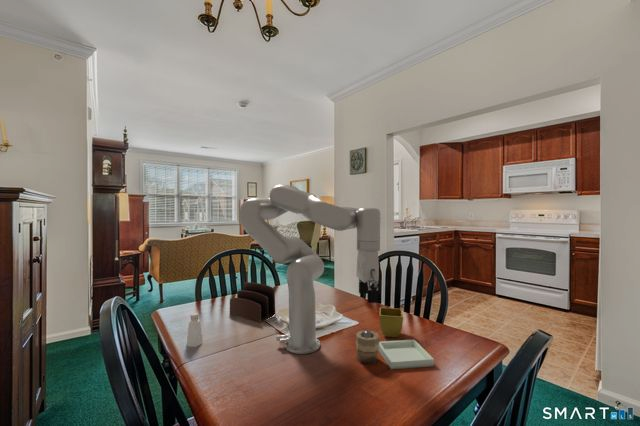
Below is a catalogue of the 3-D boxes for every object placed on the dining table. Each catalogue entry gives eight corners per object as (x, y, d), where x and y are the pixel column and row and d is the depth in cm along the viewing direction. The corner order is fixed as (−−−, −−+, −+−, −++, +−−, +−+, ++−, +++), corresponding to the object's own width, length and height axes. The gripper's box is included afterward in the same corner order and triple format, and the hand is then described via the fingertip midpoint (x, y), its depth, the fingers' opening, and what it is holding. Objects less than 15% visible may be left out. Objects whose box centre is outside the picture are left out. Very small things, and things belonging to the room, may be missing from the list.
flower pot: (403, 340, 112) (403, 316, 111) (379, 338, 113) (379, 315, 113) (401, 330, 120) (401, 308, 120) (379, 329, 122) (379, 307, 122)
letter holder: (245, 308, 147) (245, 280, 147) (275, 316, 137) (275, 285, 136) (229, 314, 139) (229, 284, 139) (260, 323, 128) (260, 291, 128)
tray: (391, 369, 92) (391, 362, 92) (376, 347, 106) (376, 341, 106) (434, 366, 94) (434, 359, 94) (414, 345, 108) (414, 339, 108)
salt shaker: (205, 342, 111) (205, 312, 110) (194, 348, 106) (193, 317, 105) (195, 339, 113) (194, 310, 113) (183, 345, 108) (182, 315, 108)
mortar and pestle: (360, 365, 94) (360, 336, 94) (355, 354, 101) (355, 328, 101) (380, 363, 95) (380, 335, 95) (373, 353, 102) (374, 327, 102)
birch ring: (359, 352, 94) (359, 340, 94) (354, 342, 101) (354, 331, 101) (381, 351, 95) (381, 338, 95) (374, 341, 102) (374, 329, 102)
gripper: (350, 242, 105) (350, 290, 106) (364, 249, 88) (364, 307, 89) (371, 242, 107) (370, 290, 107) (389, 249, 89) (388, 306, 90)
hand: (367, 297), depth 98 cm, fingers open, 9 cm apart
